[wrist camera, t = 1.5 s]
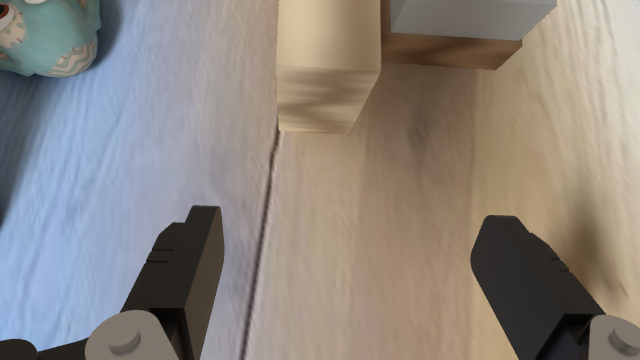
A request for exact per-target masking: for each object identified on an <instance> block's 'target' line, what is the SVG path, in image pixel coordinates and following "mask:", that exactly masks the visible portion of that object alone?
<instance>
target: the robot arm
mask: <svg viewBox="0 0 640 360" xmlns="http://www.w3.org/2000/svg"><path fill="white" fill-rule="evenodd" d="M470 261H471V268H472V271H473V273H474V275H475V277H476V279H477V281H478V283H479V285H480V287H481V288H482V290H483V292H484V294H485V296H486V298H487V300H488V302H489V304H490V306H491V307H492V309H493V311H494V313H495V315H496V317H497V319H498V321H499V323H500V324H501V326H502V328H503V330H504V332H505V334H506V336H507V338H508V340H509V341H510V343H511V345H512V347H513V349H514V351H515V353H516V355H517V357H518V359H519V360H640V328H639V327H637V326H636V325H634V324H632V323H630V322H628V321H626V320H624V319H622V318H619V317H615V316H611V315H606V313H605V312H604V311H603V310H602V308H601V307H600V306H599V305H598V304H597V302H596V301H595V300H594V299H593V298H592V296H591V295H590V294H589V293H588V292H587V290H586V289H585V288H584V287H583V286H582V284H581V283H580V282H579V281H578V280H577V278H576V277H575V276H574V275H573V274H572V273H570V272H569V269H568V268H567V266H566V265H565V264H564V263H563V262H562V261H560V258H559V257H558V256H557V254H556V253H555V252H554V251H553V250H552V248H551V247H550V246H549V245H548V244H547V243H545V242H544V241H543V240H541V239H540V238H538V237H537V236H536V235H534V234H533V233H529V231H528V230H527V229H526V228H525V226H524V225H523V224H522V223H521V221H520V220H519V219H518V218H517V217H515V216H503V215H488V216H487V217H486V218H485V219H484V221H483V224H482V226H481V229H480V231H479V234H478V236H477V239H476V242H475V244H474V247H473V249H472V252H471V258H470ZM223 262H224V236H223V226H222V215H221V208H220V206H199V205H193V206H192V208H191V210H190V212H189V214H188V217H187V219H186V221H185V223H176V222H173V223H172V224H170V225H169V226H168V227H167V228H166V229H165V230H164V231H162V232H161V233H160V234H159V236H158V238H157V240H156V242H155V244H154V246H153V248H152V251H151V252H150V254H149V256H148V258H147V260H146V263H145V264H144V266H143V268H142V270H141V272H140V274H139V276H138V278H137V280H136V282H135V284H134V286H133V288H132V290H131V292H130V294H129V296H128V298H127V300H126V302H125V304H124V306H123V308H122V309H121V311H120V313H119V314H116V315H114V316H112V317H110V318H108V319H107V320H106V321H104V322H103V323H101V324H100V325H99V326H98V327H97V328H96V329H95V330H94V331H93V333H92V334H91V335H90V337H88V338H86V339H83V340H80V341H77V342H73V343H70V344H66V345H62V346H58V347H55V348H51V349H47V350H43V351H39V352H37V350H36V348H35V347H34V345H33V344H32V343H30V342H28V341H26V340H22V339H9V340H3V341H0V360H200V356H201V352H202V348H203V344H204V340H205V336H206V332H207V328H208V324H209V320H210V316H211V312H212V308H213V304H214V300H215V296H216V292H217V288H218V284H219V280H220V276H221V272H222V268H223Z"/></svg>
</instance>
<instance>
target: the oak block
mask: <svg viewBox="0 0 640 360" xmlns="http://www.w3.org/2000/svg"><path fill="white" fill-rule="evenodd" d="M380 73H381V23H380V0H279V13H278V32H277V50H276V80H277V100H278V121H279V131H288V132H307V133H326V134H345V135H349V133H350V131H351V130H352V128H353V126H354V124H355V122H356V120H357V118H358V116H359V114H360V112H361V110H362V108H363V106H364V104H365V102H366V100H367V98H368V96H369V94H370V93H371V91H372V89H373V87H374V85H375V83H376V81H377V79H378V77H379V75H380Z"/></svg>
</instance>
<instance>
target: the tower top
mask: <svg viewBox="0 0 640 360" xmlns="http://www.w3.org/2000/svg"><path fill="white" fill-rule="evenodd" d="M556 6H557V2H556V0H390V17H391V32H393V33H408V34H423V35H438V36H454V37H469V38H484V39H499V40H514V41H519V40H520V39H522V38H523V37H524V36H525V35H526V34H527V33H528V32H529V31H530V30H531V29H532V28H533V27H534V26H535V25H537V24H538V23H539V22H540V21H541V20H542V19H543V18H544V17H545V16H546V15H547V14H548V13H549V12H550V11H551V10H553V9H554V8H555V7H556Z"/></svg>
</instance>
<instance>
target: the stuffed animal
mask: <svg viewBox="0 0 640 360" xmlns="http://www.w3.org/2000/svg"><path fill="white" fill-rule="evenodd" d="M101 24H102V22H101V19H100V0H0V70H6V71H12V72H16V73H18V74H21V75H23V76H31V75H32V74H34V73H35V74H38V75H41V76H47V77H55V78H67V77H70V76H74V75H78V74H80V73H82V72H84V71H85V70H86V69H87V68H88V67H89V66H90V65H91V63H92V62H93V60H94V59H95V58H96V55H97V48H98V37H97V33H96V31H97V30H98V29H100V28H101Z"/></svg>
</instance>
